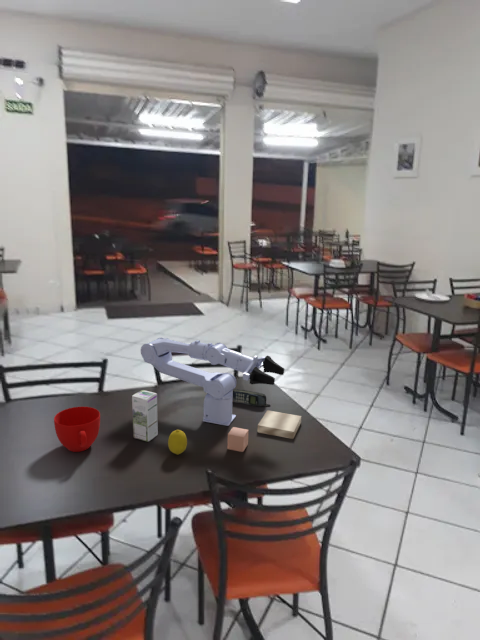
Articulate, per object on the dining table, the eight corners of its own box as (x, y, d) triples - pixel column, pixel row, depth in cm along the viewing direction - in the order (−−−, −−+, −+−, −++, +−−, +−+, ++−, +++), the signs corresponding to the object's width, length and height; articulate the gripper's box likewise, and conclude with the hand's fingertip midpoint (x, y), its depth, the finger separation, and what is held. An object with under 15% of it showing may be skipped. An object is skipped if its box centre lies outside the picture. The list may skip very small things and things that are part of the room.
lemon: (183, 460, 137) (183, 435, 135) (165, 458, 138) (165, 433, 136) (189, 451, 143) (189, 426, 141) (171, 448, 144) (171, 424, 142)
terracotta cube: (227, 449, 145) (227, 434, 143) (232, 441, 149) (233, 426, 148) (242, 452, 143) (243, 437, 142) (248, 444, 148) (248, 429, 146)
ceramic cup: (61, 468, 131) (58, 436, 129) (53, 440, 146) (51, 410, 143) (108, 458, 137) (107, 426, 135) (96, 432, 152) (95, 403, 149)
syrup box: (158, 434, 152) (158, 392, 148) (147, 442, 146) (146, 399, 143) (143, 430, 154) (142, 388, 150) (132, 438, 149) (131, 395, 145)
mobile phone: (229, 390, 176) (268, 396, 172) (232, 387, 179) (271, 392, 174) (229, 402, 178) (268, 408, 173) (232, 399, 180) (270, 405, 176)
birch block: (257, 433, 155) (257, 425, 155) (267, 418, 166) (267, 410, 166) (293, 440, 152) (293, 431, 151) (300, 424, 163) (301, 416, 162)
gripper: (231, 360, 147) (271, 374, 142) (252, 344, 159) (289, 357, 154) (229, 379, 150) (268, 394, 145) (249, 362, 162) (286, 375, 157)
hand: (279, 376), depth 150 cm, fingers open, 7 cm apart
